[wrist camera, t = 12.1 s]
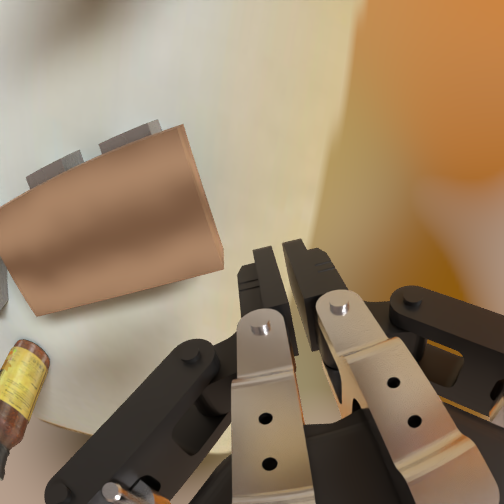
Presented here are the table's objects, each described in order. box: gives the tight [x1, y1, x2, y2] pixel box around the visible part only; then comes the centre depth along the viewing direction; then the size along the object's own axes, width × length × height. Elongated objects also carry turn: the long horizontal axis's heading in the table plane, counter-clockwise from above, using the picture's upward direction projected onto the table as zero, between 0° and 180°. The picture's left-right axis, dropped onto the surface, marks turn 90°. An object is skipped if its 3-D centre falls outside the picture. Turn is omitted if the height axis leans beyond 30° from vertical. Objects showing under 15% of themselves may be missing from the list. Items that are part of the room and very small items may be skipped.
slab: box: [0, 124, 224, 317], centre depth 21 cm, size 10×18×3 cm, turn 105°
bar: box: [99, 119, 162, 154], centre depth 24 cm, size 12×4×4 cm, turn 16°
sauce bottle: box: [0, 339, 50, 480], centre depth 25 cm, size 6×6×20 cm
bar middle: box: [26, 150, 84, 189], centre depth 24 cm, size 12×4×4 cm, turn 14°
